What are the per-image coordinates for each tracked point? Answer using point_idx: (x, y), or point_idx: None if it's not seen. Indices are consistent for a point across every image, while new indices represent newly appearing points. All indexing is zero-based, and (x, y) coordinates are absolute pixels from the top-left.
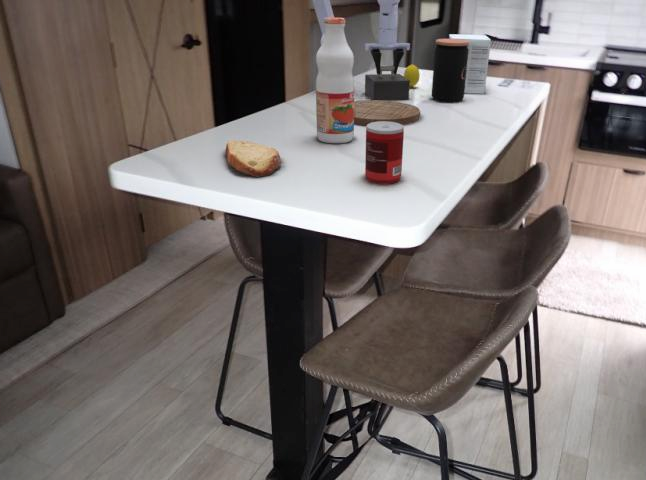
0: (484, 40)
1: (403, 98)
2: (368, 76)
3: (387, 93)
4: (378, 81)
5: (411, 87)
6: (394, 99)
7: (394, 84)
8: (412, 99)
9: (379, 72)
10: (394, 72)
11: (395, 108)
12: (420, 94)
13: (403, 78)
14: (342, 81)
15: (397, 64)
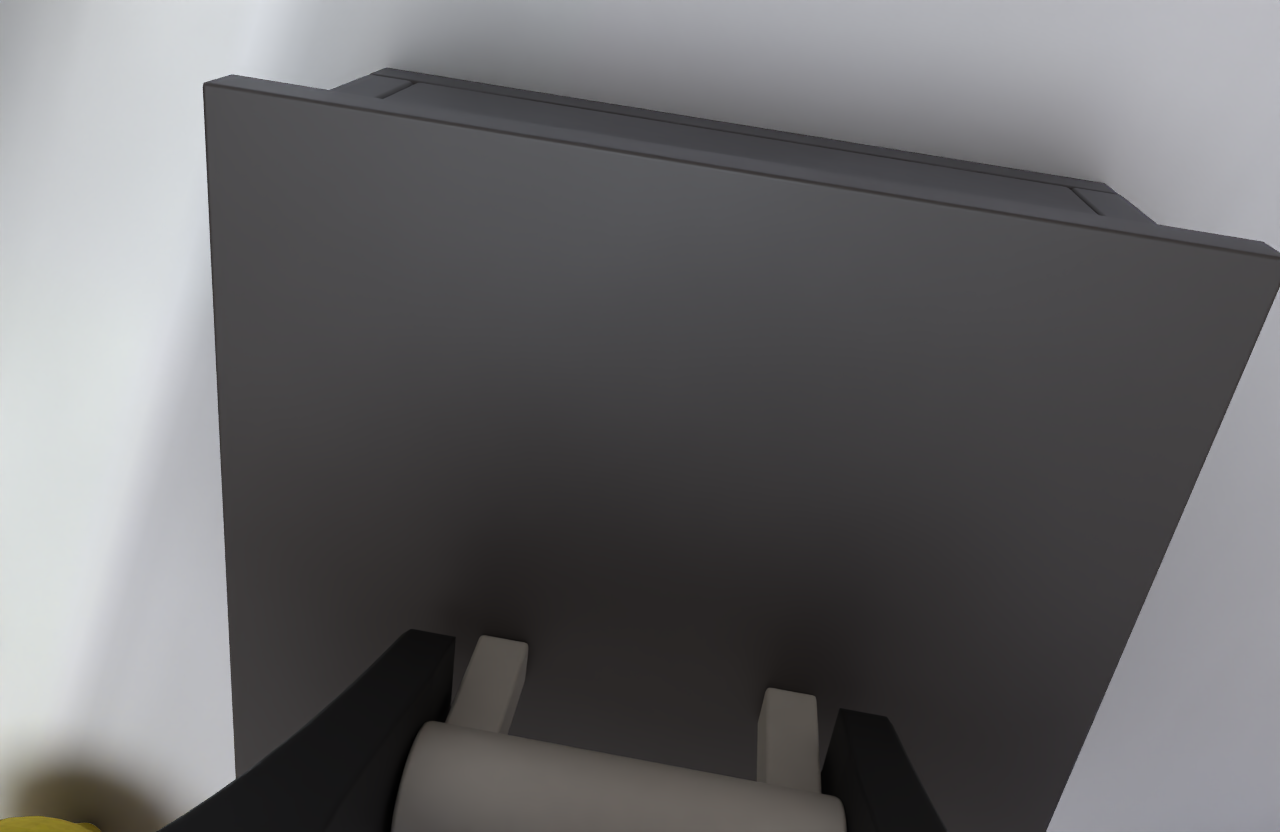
0: None
1: (482, 86)
2: (1033, 827)
3: (823, 167)
4: (1157, 235)
5: (85, 823)
6: (669, 116)
7: None
8: (298, 84)
9: (868, 737)
10: (444, 673)
11: None
12: (51, 421)
13: (305, 398)
14: None
15: (308, 768)
